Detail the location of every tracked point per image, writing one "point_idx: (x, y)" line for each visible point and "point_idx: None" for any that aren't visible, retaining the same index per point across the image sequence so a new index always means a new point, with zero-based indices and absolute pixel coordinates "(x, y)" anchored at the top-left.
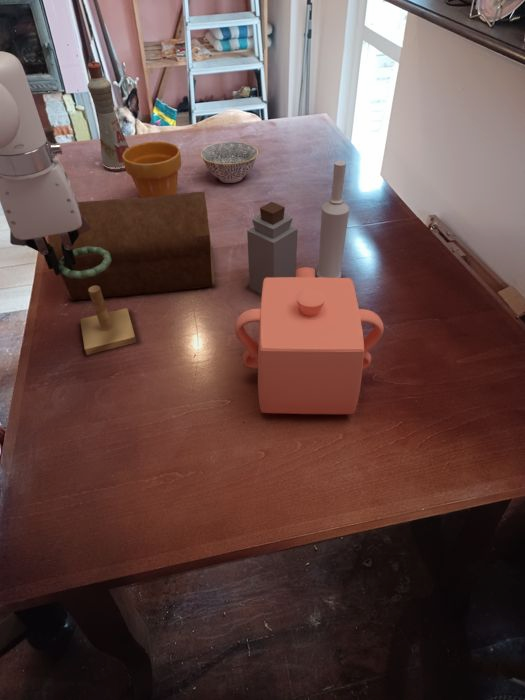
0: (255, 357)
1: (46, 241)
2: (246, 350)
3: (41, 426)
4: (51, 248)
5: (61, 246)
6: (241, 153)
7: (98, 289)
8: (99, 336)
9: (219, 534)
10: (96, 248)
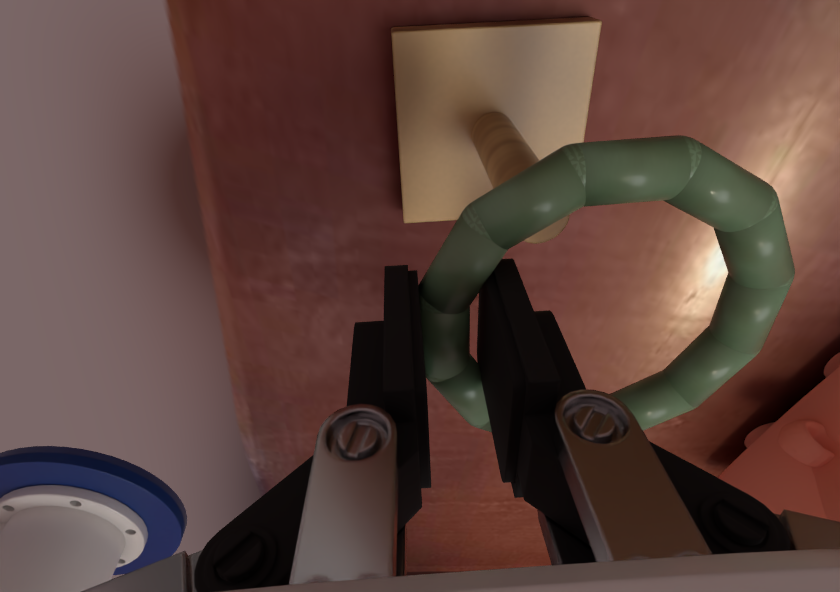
0: (814, 474)
1: (398, 464)
2: (815, 455)
3: (297, 394)
4: (422, 427)
5: (510, 419)
6: None
7: (558, 229)
8: (459, 175)
9: (549, 561)
10: (742, 224)
